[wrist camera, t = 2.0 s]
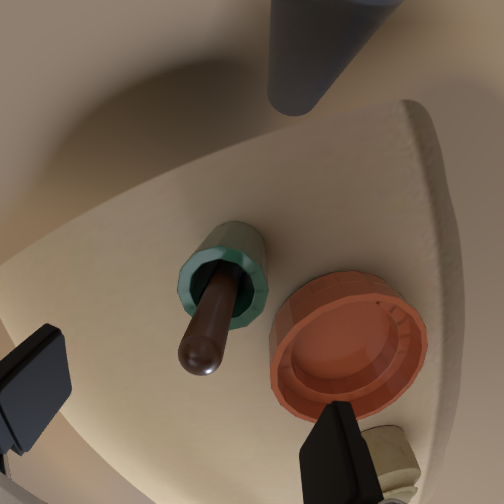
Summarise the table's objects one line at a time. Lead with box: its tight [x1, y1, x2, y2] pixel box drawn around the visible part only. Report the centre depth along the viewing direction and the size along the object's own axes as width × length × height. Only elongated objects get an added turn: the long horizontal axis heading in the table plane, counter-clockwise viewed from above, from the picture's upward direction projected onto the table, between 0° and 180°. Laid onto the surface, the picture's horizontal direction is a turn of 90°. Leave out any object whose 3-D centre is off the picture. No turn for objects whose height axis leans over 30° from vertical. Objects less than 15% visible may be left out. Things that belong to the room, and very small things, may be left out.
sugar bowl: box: [361, 426, 421, 503], centre depth 26 cm, size 15×11×15 cm
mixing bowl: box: [269, 271, 428, 423], centre depth 25 cm, size 14×14×6 cm
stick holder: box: [177, 221, 269, 330], centre depth 22 cm, size 5×5×9 cm
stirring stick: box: [178, 259, 242, 376], centre depth 18 cm, size 2×2×16 cm
